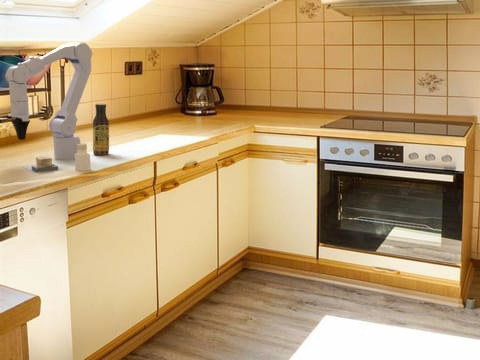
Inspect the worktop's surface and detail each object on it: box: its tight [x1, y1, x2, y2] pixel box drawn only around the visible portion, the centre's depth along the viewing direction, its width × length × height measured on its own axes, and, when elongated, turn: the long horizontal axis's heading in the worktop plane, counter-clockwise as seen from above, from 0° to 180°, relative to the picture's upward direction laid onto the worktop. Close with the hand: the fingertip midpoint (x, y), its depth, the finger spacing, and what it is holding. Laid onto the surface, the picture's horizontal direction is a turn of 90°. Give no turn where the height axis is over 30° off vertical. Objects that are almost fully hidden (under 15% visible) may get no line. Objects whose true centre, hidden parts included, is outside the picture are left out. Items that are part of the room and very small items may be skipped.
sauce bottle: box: [92, 103, 110, 156], centre depth 245 cm, size 7×6×20 cm
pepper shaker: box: [74, 143, 92, 172], centre depth 213 cm, size 4×4×10 cm
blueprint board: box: [21, 163, 63, 174], centre depth 216 cm, size 10×15×2 cm, turn 34°
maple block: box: [35, 155, 53, 168], centre depth 214 cm, size 4×4×4 cm
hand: (21, 139), depth 222 cm, fingers closed
